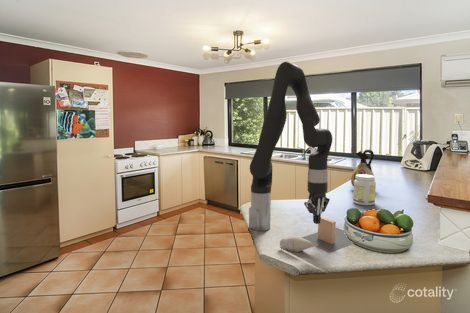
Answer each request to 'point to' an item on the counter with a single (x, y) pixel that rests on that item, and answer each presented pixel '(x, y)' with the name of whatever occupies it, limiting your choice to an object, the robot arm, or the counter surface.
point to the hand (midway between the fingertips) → (316, 223)
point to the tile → (327, 230)
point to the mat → (339, 243)
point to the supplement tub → (364, 189)
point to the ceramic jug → (363, 165)
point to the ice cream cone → (296, 243)
